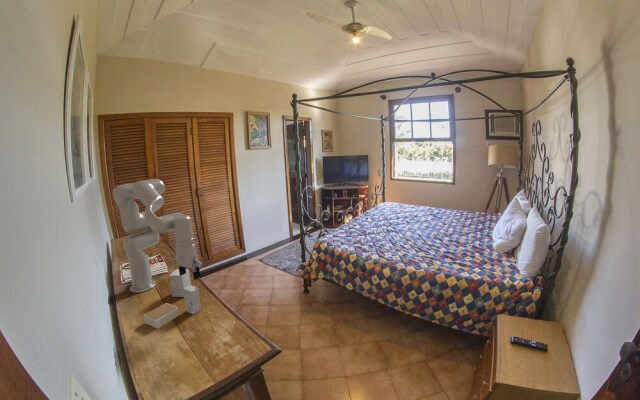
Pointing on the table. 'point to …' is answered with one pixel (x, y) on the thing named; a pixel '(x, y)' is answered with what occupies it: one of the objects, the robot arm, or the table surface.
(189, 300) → the skincare box
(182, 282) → the supplement box
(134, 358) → the table surface
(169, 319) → the tray
